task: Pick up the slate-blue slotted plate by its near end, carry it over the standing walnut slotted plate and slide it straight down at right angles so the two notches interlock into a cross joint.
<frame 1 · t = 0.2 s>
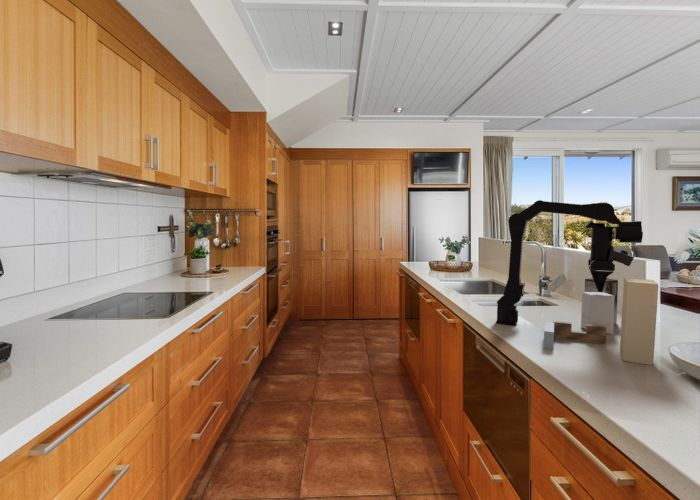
hand: (599, 289, 124), 14 cm above the countertop, tool pointing down, fingers open, 9 cm apart
beige tall block: (637, 359, 101), on the countertop
coffee box: (599, 323, 139), on the countertop
slate plate: (548, 343, 114), on the countertop
supplement box: (596, 330, 128), on the countertop
walnut plate: (578, 339, 117), on the countertop
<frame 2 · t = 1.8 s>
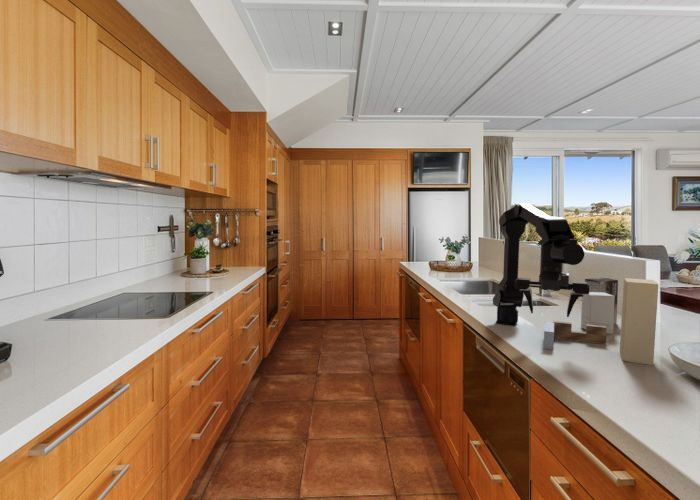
hand: (549, 314, 110), 9 cm above the countertop, tool pointing down, fingers open, 9 cm apart
nothing on the countertop moved.
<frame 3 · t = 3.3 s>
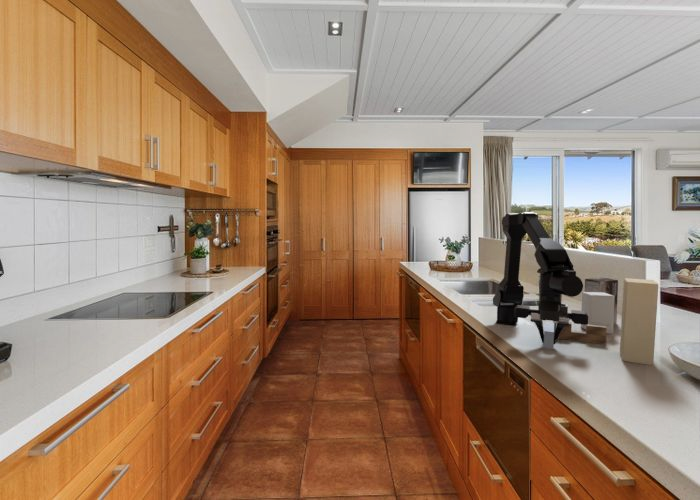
hand: (548, 343, 110), 1 cm above the countertop, tool pointing down, fingers closed on slate plate, 2 cm apart
slate plate: (548, 343, 114), on the countertop, touching gripper
everything else where it was.
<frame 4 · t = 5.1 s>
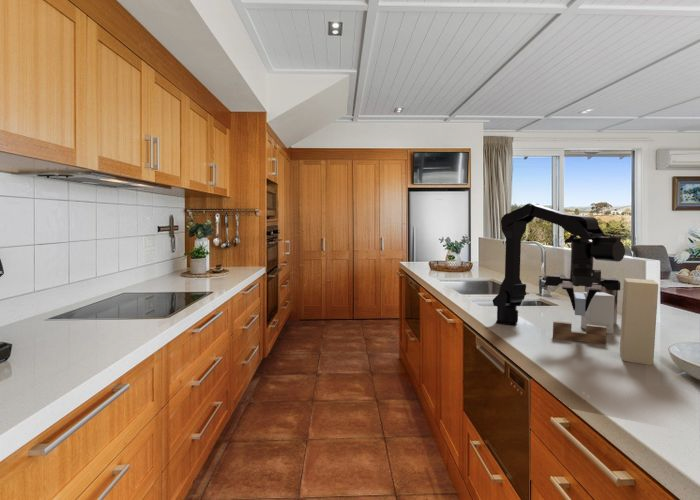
hand: (579, 310, 113), 10 cm above the countertop, tool pointing down, fingers closed on slate plate, 2 cm apart
slate plate: (578, 311, 117), point 9 cm above the countertop, touching gripper
everything else where it was.
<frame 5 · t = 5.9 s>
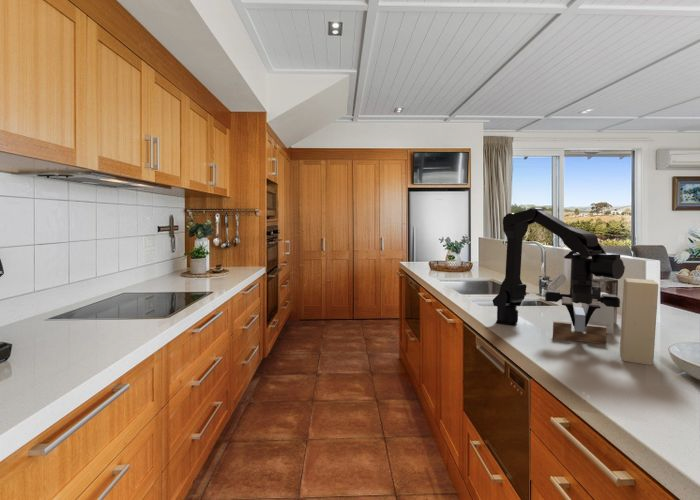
hand: (579, 326, 113), 5 cm above the countertop, tool pointing down, fingers closed on slate plate, 2 cm apart
slate plate: (578, 326, 117), point 4 cm above the countertop, touching gripper
everything else where it was.
when the fingers open (2 cm above the countertop, at t = 6.8 s): slate plate stays where it is, resting on walnut plate.
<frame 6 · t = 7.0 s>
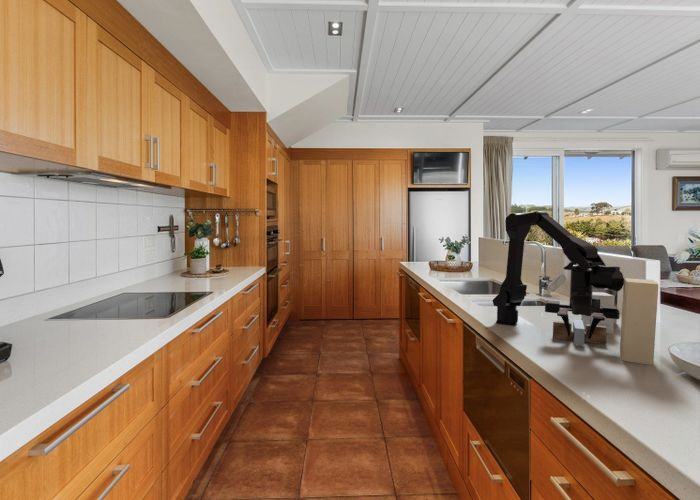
hand: (579, 337, 114), 2 cm above the countertop, tool pointing down, fingers open, 5 cm apart
slate plate: (578, 340, 117), resting on walnut plate
everything else where it was.
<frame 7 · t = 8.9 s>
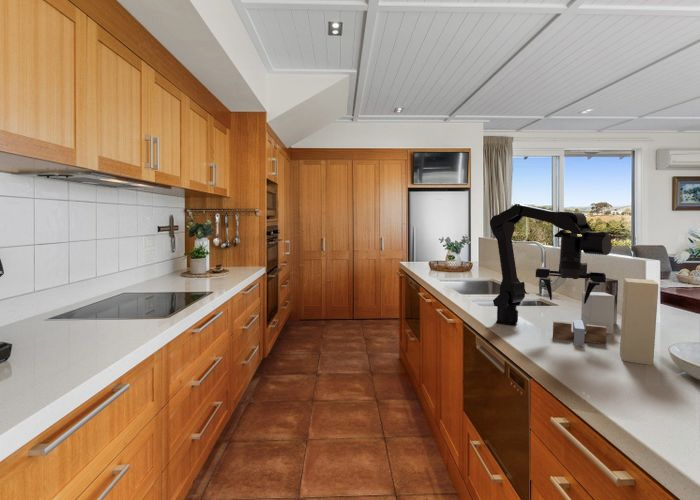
hand: (567, 301, 119), 11 cm above the countertop, tool pointing down, fingers open, 9 cm apart
nothing on the countertop moved.
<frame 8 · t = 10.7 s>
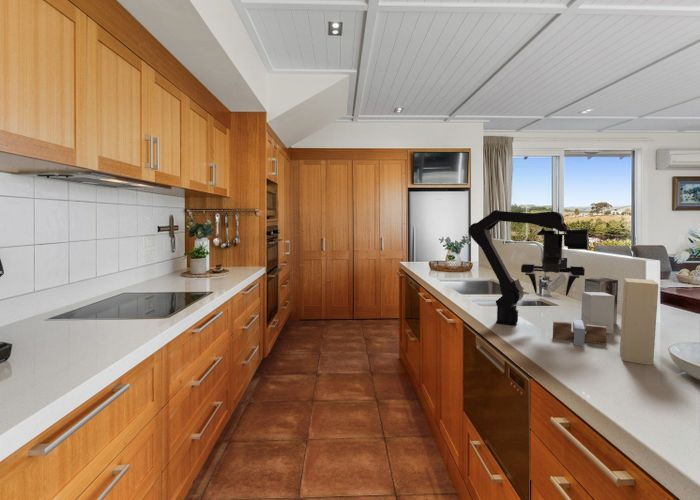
hand: (550, 294, 129), 12 cm above the countertop, tool pointing down, fingers open, 9 cm apart
nothing on the countertop moved.
at the end: slate plate 0.0 cm off-centre on the walnut plate, point 0.0 cm above the walnut plate's base; slate plate tilted 0°; the gripper is holding nothing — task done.
